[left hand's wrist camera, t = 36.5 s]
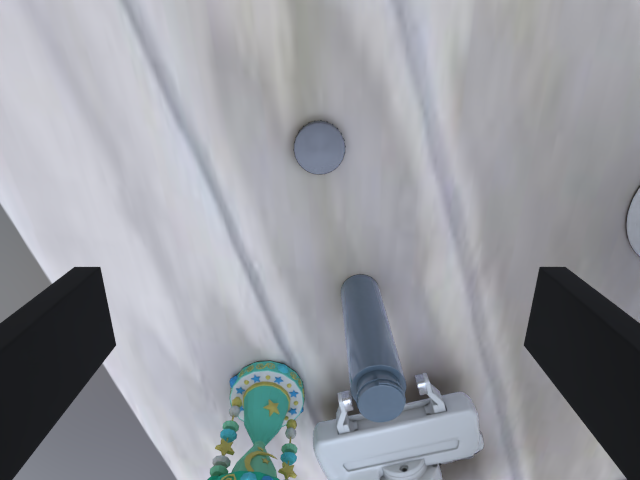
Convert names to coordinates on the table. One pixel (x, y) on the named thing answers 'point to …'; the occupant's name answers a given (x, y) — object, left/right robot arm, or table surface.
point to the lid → (319, 147)
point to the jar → (371, 351)
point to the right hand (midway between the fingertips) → (382, 386)
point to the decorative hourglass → (261, 421)
